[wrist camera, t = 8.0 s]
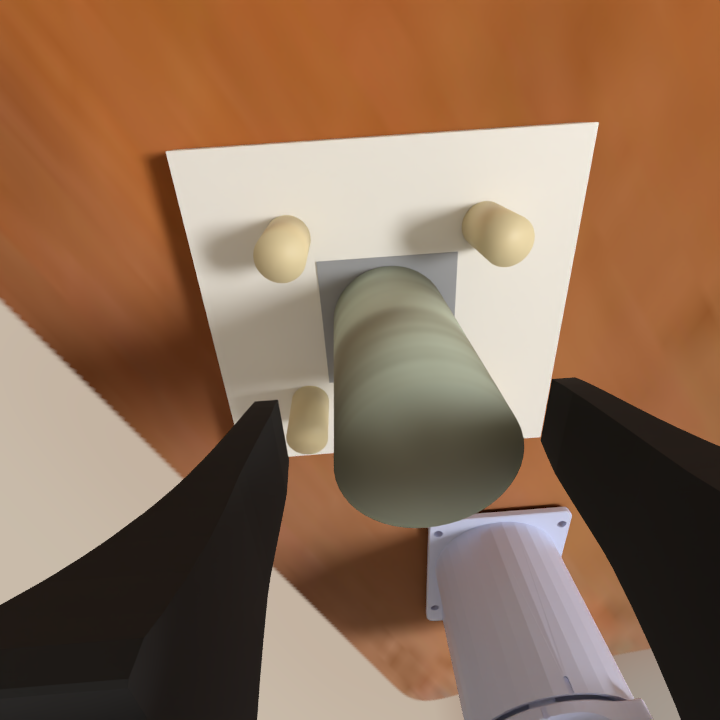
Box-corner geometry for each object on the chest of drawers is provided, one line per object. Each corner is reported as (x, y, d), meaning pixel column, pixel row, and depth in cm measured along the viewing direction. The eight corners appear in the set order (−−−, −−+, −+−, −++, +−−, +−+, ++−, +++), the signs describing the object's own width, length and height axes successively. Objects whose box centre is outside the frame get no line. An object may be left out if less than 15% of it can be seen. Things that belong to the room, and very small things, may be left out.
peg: (442, 364, 18) (511, 521, 11) (337, 372, 18) (340, 534, 11) (447, 261, 16) (537, 375, 9) (328, 269, 16) (325, 391, 9)
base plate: (530, 421, 21) (564, 475, 18) (247, 443, 21) (231, 501, 18) (580, 122, 15) (648, 121, 12) (177, 149, 15) (133, 156, 12)
